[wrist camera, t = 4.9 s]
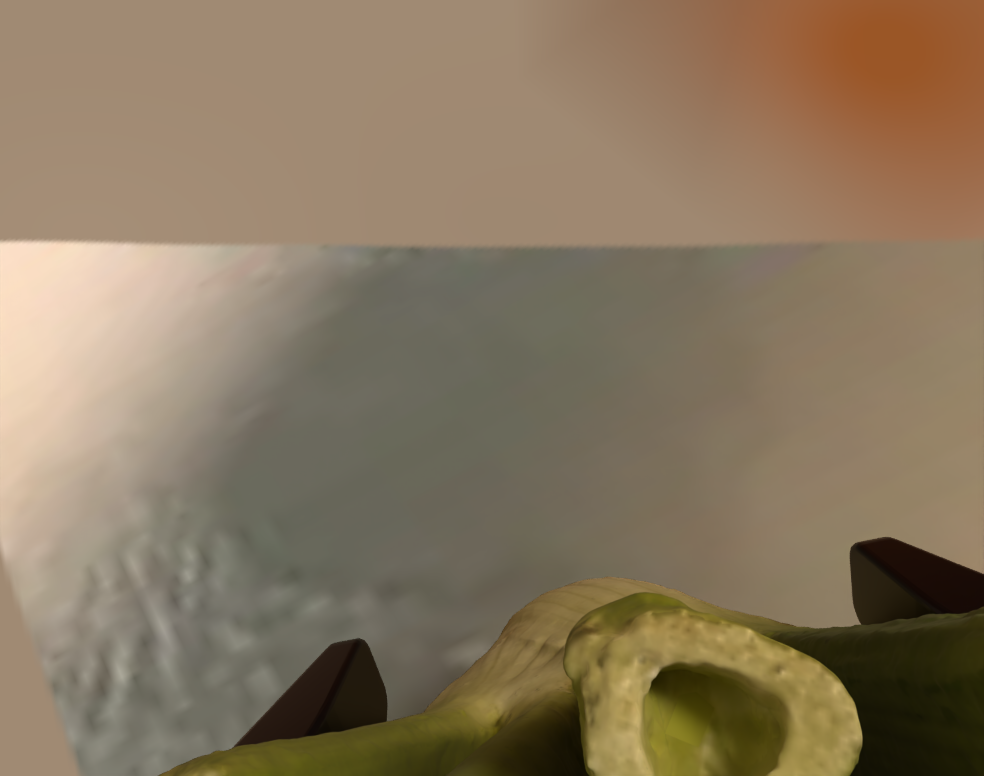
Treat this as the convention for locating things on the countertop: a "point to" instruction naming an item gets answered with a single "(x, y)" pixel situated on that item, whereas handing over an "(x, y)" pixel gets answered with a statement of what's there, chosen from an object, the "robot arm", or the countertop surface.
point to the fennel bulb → (672, 699)
